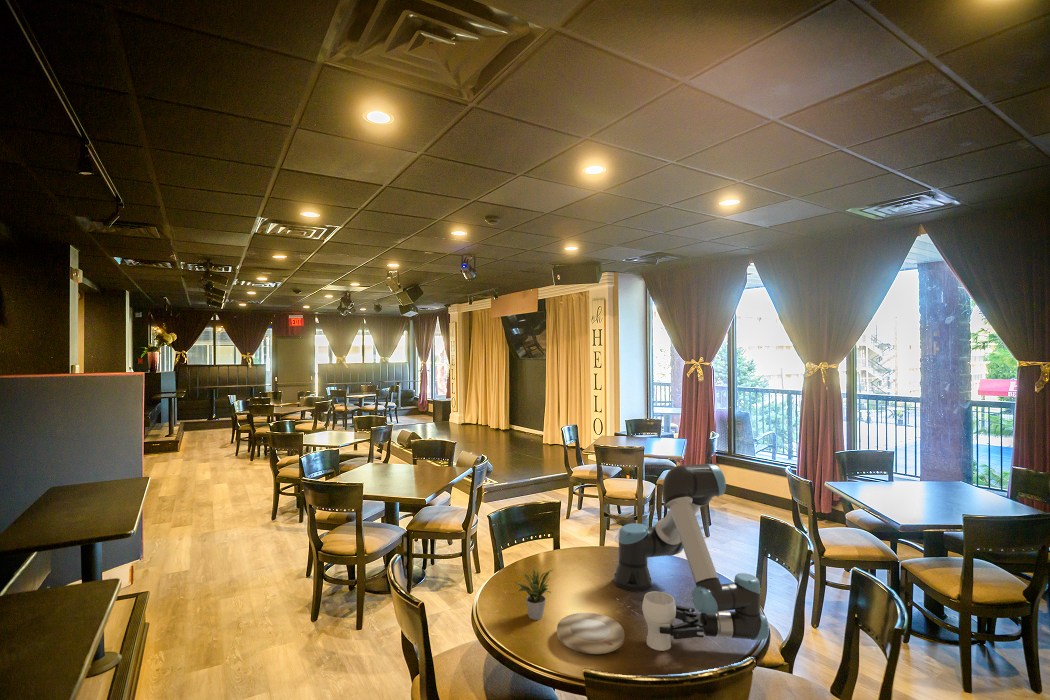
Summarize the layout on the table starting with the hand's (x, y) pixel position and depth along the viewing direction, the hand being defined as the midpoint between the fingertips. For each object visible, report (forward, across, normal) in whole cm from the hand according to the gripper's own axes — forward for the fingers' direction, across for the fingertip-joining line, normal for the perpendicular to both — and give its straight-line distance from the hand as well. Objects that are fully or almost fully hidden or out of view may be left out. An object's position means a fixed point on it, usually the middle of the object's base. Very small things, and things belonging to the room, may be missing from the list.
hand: (646, 618), depth 165 cm
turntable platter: (+18, -1, -6) cm, 19 cm away
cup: (-4, 0, -8) cm, 9 cm away
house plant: (+37, +14, -8) cm, 40 cm away
